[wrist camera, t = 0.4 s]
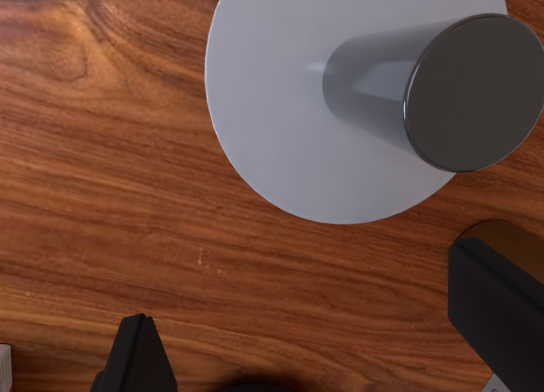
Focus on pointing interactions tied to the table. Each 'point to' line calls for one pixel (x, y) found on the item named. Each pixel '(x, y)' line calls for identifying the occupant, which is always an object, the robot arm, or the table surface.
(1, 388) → the ink box
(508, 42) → the lid
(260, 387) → the teapot
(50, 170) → the table surface
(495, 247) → the mug
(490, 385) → the cassette player
